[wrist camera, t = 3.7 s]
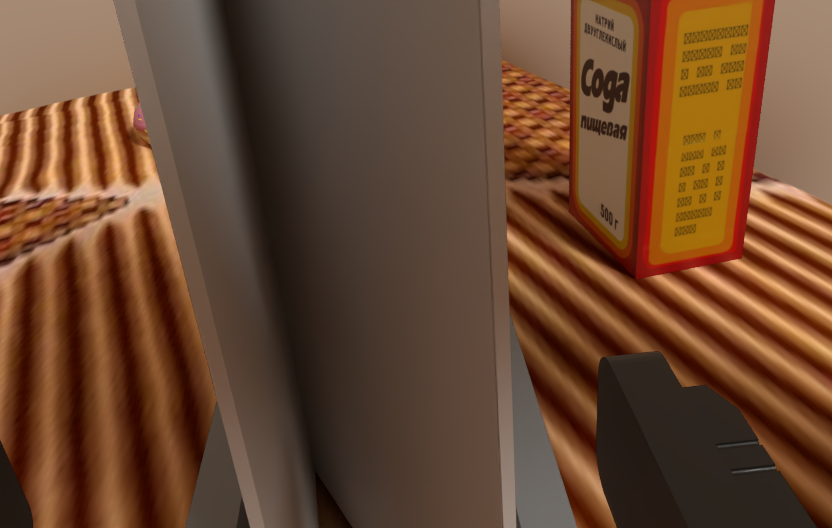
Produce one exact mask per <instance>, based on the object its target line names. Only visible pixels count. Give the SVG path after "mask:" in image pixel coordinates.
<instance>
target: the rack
mask: <svg viewBox="0 0 832 528" xmlns="http://www.w3.org/2000/svg"><path fill="white" fill-rule="evenodd" d="M509 316H510V347H511V378H512V408H513V439H514V470H515V501H516V528H577V526H576V523H575V519H574V516H573V513H572V510H571V507H570V503H569V500H568V497H567V494H566V491H565V488H564V484H563V481H562V478H561V475H560V472H559V468H558V465H557V462H556V459H555V456H554V452H553V449H552V446H551V443H550V440H549V436H548V433H547V430H546V427H545V424H544V420H543V417H542V414H541V411H540V408H539V404H538V401H537V398H536V395H535V392H534V388H533V385H532V382H531V379H530V376H529V372H528V369H527V366H526V363H525V360H524V356H523V353H522V350H521V347H520V344H519V340H518V337H517V334H516V331H515V328H514V324H513V321H512V318H511V315H510V312H509ZM185 528H250V525H249V521H248V517H247V513H246V509H245V505H244V502H243V498H242V494H241V490H240V486H239V482H238V479H237V475H236V471H235V467H234V463H233V459H232V455H231V452H230V448H229V444H228V440H227V436H226V432H225V429H224V425H223V421H222V417H221V413H220V409H219V405H218V402H216V406H215V410H214V414H213V418H212V422H211V426H210V430H209V434H208V438H207V442H206V446H205V450H204V454H203V458H202V462H201V466H200V471H199V475H198V479H197V483H196V487H195V491H194V495H193V499H192V503H191V507H190V511H189V515H188V519H187V523H186V527H185Z"/></svg>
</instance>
